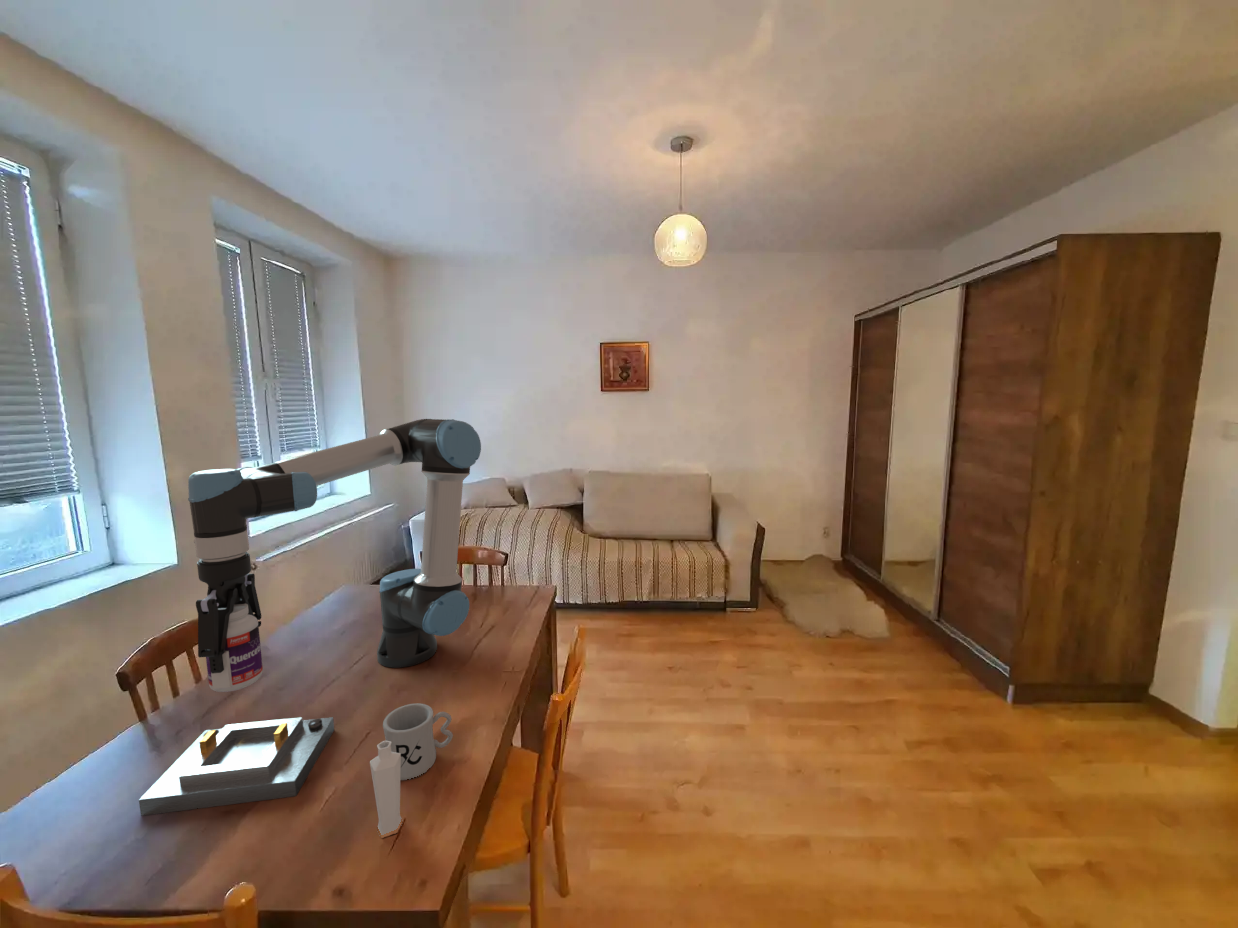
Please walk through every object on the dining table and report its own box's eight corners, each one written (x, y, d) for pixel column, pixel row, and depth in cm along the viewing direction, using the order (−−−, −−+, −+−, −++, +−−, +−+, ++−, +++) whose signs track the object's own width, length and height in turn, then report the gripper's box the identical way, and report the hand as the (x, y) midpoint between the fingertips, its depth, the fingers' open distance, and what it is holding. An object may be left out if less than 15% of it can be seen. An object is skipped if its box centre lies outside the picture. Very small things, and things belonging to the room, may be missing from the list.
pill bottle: (234, 697, 89) (225, 620, 87) (198, 692, 91) (188, 616, 89) (274, 673, 97) (267, 601, 95) (240, 668, 99) (232, 598, 97)
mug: (386, 789, 91) (383, 738, 90) (384, 757, 99) (381, 710, 98) (457, 766, 97) (455, 718, 95) (449, 737, 105) (447, 693, 103)
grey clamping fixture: (334, 730, 107) (331, 697, 106) (296, 795, 90) (292, 757, 89) (207, 743, 103) (202, 709, 102) (141, 815, 86) (135, 775, 84)
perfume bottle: (380, 817, 85) (374, 735, 83) (407, 815, 85) (401, 734, 83) (369, 841, 81) (362, 755, 79) (397, 839, 81) (391, 753, 79)
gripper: (234, 540, 100) (245, 647, 103) (157, 577, 80) (175, 709, 83) (275, 538, 102) (285, 644, 105) (210, 574, 81) (226, 705, 84)
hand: (236, 673), depth 94 cm, fingers closed on pill bottle, 8 cm apart
